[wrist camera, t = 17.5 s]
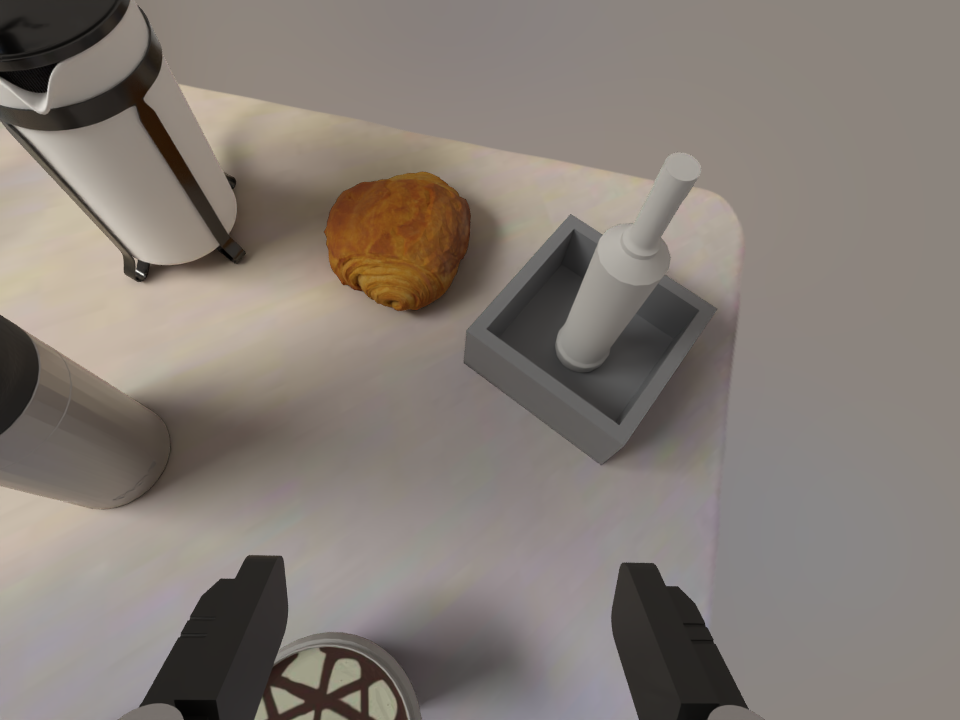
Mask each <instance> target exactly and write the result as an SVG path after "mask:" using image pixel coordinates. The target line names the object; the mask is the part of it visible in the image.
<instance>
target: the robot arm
mask: <svg viewBox="0 0 960 720" xmlns="http://www.w3.org/2000/svg"><path fill="white" fill-rule="evenodd" d="M169 452H170V437H169V433H168V430H167V427H166V425H165V424H164V422H163V421H162V420H161V418H160V417H159V416H157V415H156V414H155V413H154V412H153V411H151V410H150V409H148V408H146V407H145V406H143V405H142V404H140V403H138V402H137V401H135V400H134V399H132V398H131V397H129V396H128V395H126V394H125V393H123V392H121V391H120V390H118V389H117V388H115V387H114V386H112V385H110V384H109V383H107V382H106V381H104V380H102V379H101V378H99V377H98V376H96V375H95V374H93V373H91V372H90V371H88V370H87V369H85V368H84V367H82V366H80V365H79V364H77V363H76V362H74V361H72V360H71V359H69V358H68V357H66V356H65V355H63V354H61V353H60V352H58V351H57V350H55V349H54V348H52V347H50V346H49V345H47V344H45V343H44V342H42V341H40V340H39V339H37V338H36V337H34V336H33V335H31V334H29V333H28V332H26V331H25V330H23V329H21V328H20V327H18V326H17V325H16V324H14V323H12V322H11V321H9V320H8V319H6V318H4V317H3V316H1V315H0V486H3V487H7V488H11V489H15V490H19V491H23V492H27V493H31V494H35V495H39V496H43V497H47V498H51V499H55V500H58V501H63V502H67V503H71V504H75V505H79V506H83V507H87V508H91V509H109V508H115V507H119V506H121V505H124V504H127V503H129V502H131V501H133V500H135V499H136V498H138V497H140V496H141V495H142V494H144V493H145V492H146V491H147V490H149V489H150V488H151V487H152V485H153V484H154V483H155V482H156V481H157V480H158V479H159V477H160V475H161V474H162V472H163V470H164V469H165V466H166V463H167V461H168V458H169ZM287 618H288V598H287V588H286V578H285V568H284V560H283V557H282V556H265V555H249V556H247V557H246V558H245V560H244V562H243V564H242V566H241V568H240V570H239V572H238V574H237V576H236V578H235V579H220V580H219V581H218V582H217V583H215V584H214V585H213V586H212V587H211V588H210V589H209V590H208V591H207V592H206V593H204V594H203V595H202V596H201V598H200V600H199V602H198V603H197V605H196V607H195V609H194V611H193V612H192V614H191V616H190V620H189V621H187V623H186V625H185V627H184V629H183V630H182V632H181V636H180V638H178V639H177V641H176V643H175V645H174V646H173V648H172V650H171V652H170V654H169V655H168V657H167V659H166V661H165V662H164V664H163V666H162V668H161V670H160V671H159V673H158V675H157V677H156V679H155V680H154V682H153V684H152V686H151V688H150V689H149V691H148V693H147V695H146V696H145V698H144V700H143V702H142V703H141V705H140V706H139V708H137V709H135V710H132V711H131V712H129V713H127V714H125V715H124V716H122V717H121V718H120V719H118V720H254V719H255V716H256V713H257V710H258V707H259V705H260V702H261V699H262V696H263V693H264V690H265V688H266V685H267V682H268V679H269V676H270V673H271V670H272V668H273V665H274V662H275V659H276V656H277V653H278V650H279V648H280V645H281V642H282V639H283V636H284V633H285V629H286V624H287ZM611 622H612V631H613V637H614V640H615V644H616V647H617V650H618V653H619V657H620V660H621V663H622V666H623V670H624V673H625V676H626V679H627V683H628V686H629V689H630V692H631V695H632V699H633V702H634V705H635V708H636V712H637V715H638V718H639V720H765V719H763V718H762V717H761V716H759V715H757V714H756V713H754V712H753V711H751V710H749V708H748V707H747V705H746V703H745V701H744V699H743V697H742V696H741V693H740V691H739V690H738V688H737V685H736V683H735V682H734V679H733V677H732V675H731V674H730V672H729V670H728V668H727V666H726V664H725V662H724V660H723V658H722V656H721V654H720V652H719V650H718V648H717V646H716V644H714V642H713V638H712V636H711V634H710V632H709V630H708V628H707V627H705V622H704V620H703V618H702V616H701V614H700V612H699V610H698V608H697V606H696V604H695V603H694V602H693V601H692V600H691V599H690V598H689V597H688V596H687V595H686V594H685V593H684V592H683V591H682V590H681V589H680V588H679V587H678V586H666V585H665V583H664V581H663V579H662V577H661V575H660V572H659V570H658V568H657V566H656V565H655V564H654V563H622V564H621V566H620V569H619V574H618V580H617V585H616V590H615V596H614V601H613V606H612V614H611Z"/></svg>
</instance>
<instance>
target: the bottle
mask: <svg viewBox="0 0 960 720" xmlns="http://www.w3.org/2000/svg"><path fill="white" fill-rule="evenodd" d="M700 173H701V167H700V164H699V162H698V161H697V160H696V159H695V158H694V157H692V156H691V155H689V154H686V153H682V152H681V153H674V154H671V155H669V156H668V158H667V159H666V160H665V162H664V164H663V166H662V168H661V170H660V172H659V174H658V176H657V178H656V180H655V182H654V185H653V187H652V189H651V191H650V193H649V195H648V197H647V199H646V201H645V203H644V205H643V207H642V208H641V210H640V212H639V214H638V216H637V218H636V220H635V222H634V223H629V224H618V225H616V226H614V227H612V228H610V229H608V230H607V231H606V232H605V233H604V234H603V235H602V237H601V238H600V240H599V242H598V244H597V247H596V249H595V252H594V254H593V257H592V259H591V262H590V264H589V267H588V269H587V271H586V274H585V276H584V279H583V281H582V284H581V286H580V289H579V291H578V294H577V296H576V298H575V301H574V303H573V306H572V308H571V311H570V313H569V316H568V318H567V321H566V323H565V324H564V325H563V327H562V328H561V329H560V330H559V332H558V335H557V339H556V343H555V349H556V354H557V357H558V359H559V360H560V362H561V363H562V365H564V366H565V367H567V368H568V369H569V370H571V371H575V372H579V373H582V372H590V371H592V370H594V369H596V368H598V367H600V366H601V365H602V363H603V362H604V361H605V360H606V358H607V357H608V356H609V353H610V348H611V346H612V345H613V344H614V342H615V341H616V340H617V338H618V337H619V336H620V334H621V333H622V331H623V330H624V329H625V327H626V326H627V325H628V323H629V322H630V321H631V319H632V318H633V317H634V315H635V314H636V313H637V311H638V310H639V309H640V307H641V306H642V305H643V303H644V302H645V300H646V299H647V298H648V296H649V295H650V294H651V292H652V291H653V290H654V288H655V287H656V286H657V284H658V283H659V282H660V280H661V279H662V278H663V276H664V275H665V273H666V272H667V271H668V269H669V264H670V258H671V257H670V254H669V250H668V247H667V245H666V243H665V242H664V241H663V240H662V238H661V236H662V234H663V233H664V231H665V229H666V228H667V226H668V224H669V223H670V221H671V219H672V218H673V216H674V214H675V213H676V211H677V210H678V208H679V206H680V205H681V203H682V201H683V200H684V199H685V198H686V196H687V195H688V193H689V192H690V190H691V188H692V187H693V185H694V183H695V182H696V180H697V178H698V177H699V175H700Z"/></svg>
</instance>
